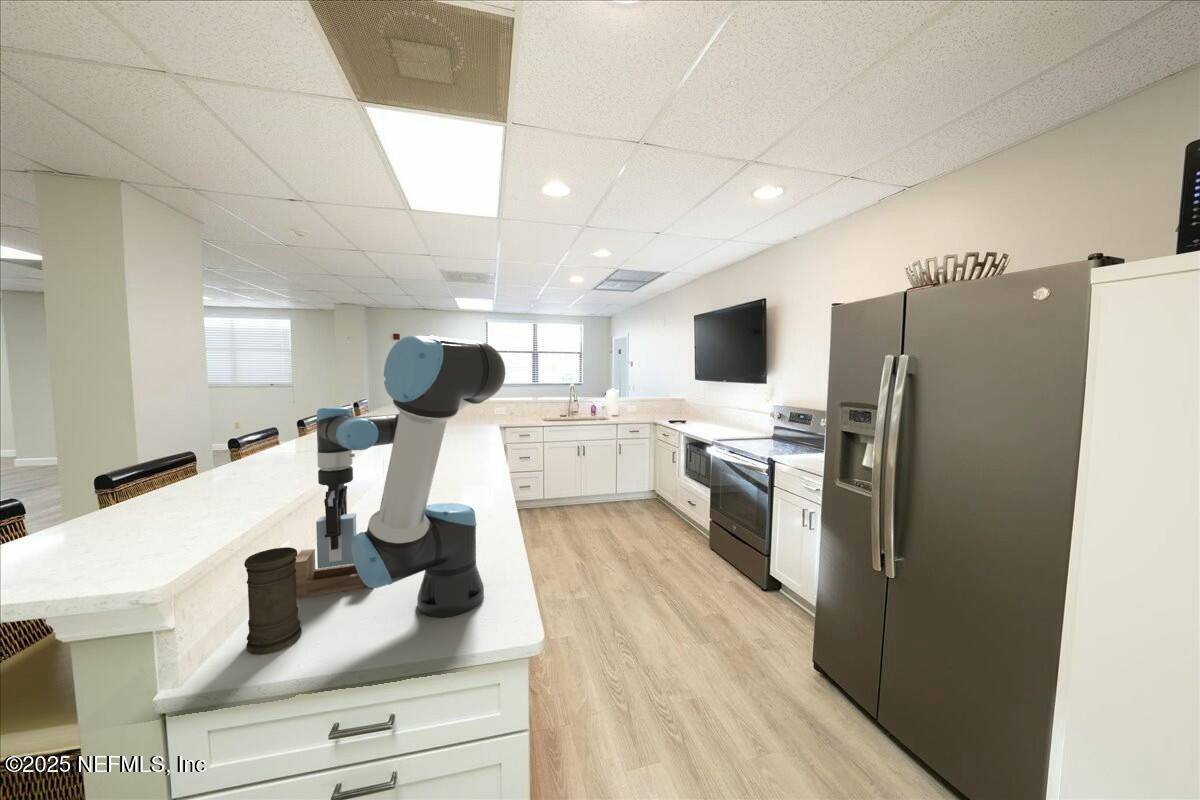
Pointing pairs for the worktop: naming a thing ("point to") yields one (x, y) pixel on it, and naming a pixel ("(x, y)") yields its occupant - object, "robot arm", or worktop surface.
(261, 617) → the container
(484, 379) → the robot arm
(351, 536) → the door
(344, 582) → the frame
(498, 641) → the worktop surface
